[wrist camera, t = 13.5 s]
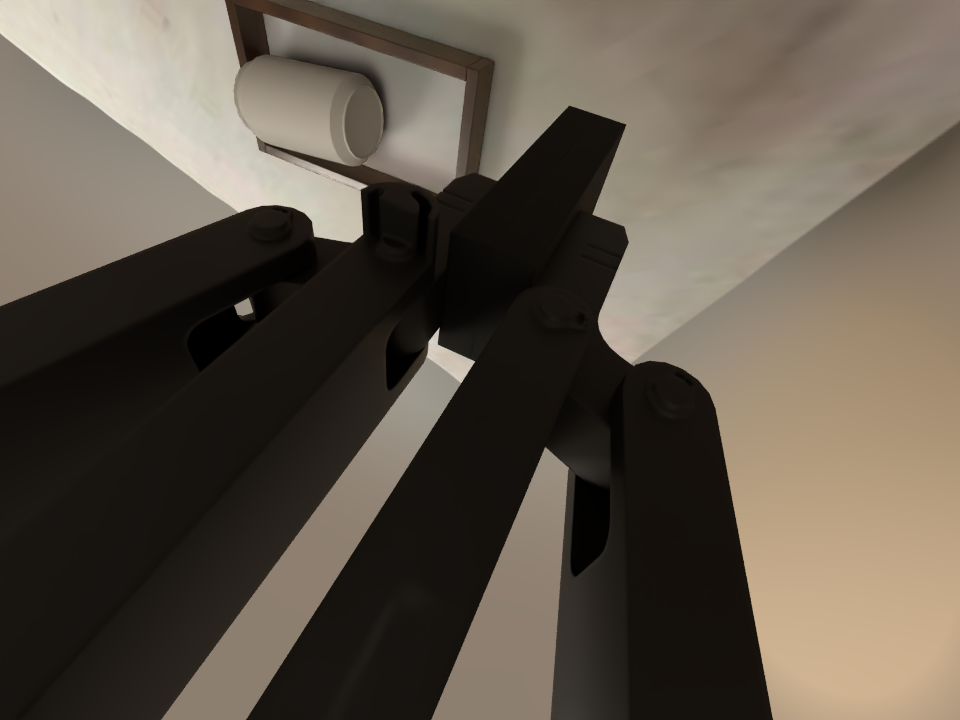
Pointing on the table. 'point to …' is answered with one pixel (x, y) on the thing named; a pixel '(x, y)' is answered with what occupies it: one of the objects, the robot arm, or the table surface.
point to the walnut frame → (292, 6)
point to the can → (310, 108)
